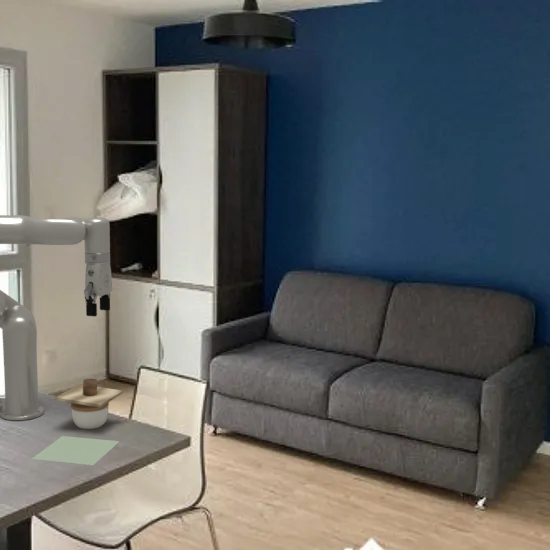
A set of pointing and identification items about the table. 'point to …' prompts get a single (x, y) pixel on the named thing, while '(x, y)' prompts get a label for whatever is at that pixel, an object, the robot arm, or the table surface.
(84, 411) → the lidded jar
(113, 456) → the table surface
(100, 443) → the mat
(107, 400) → the cover
